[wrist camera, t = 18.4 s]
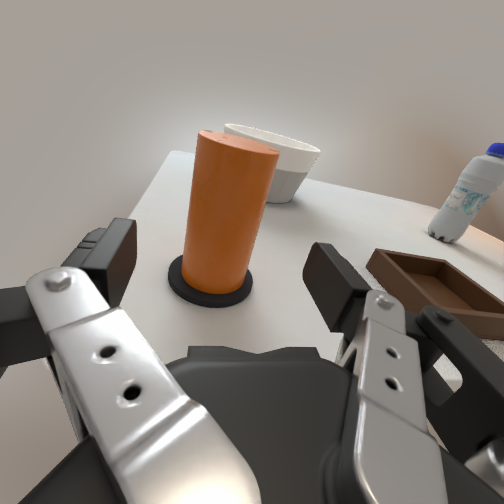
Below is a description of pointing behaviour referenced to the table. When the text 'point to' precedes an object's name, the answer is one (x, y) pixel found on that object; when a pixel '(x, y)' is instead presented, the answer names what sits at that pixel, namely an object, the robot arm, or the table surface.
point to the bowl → (281, 160)
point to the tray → (438, 290)
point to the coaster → (201, 297)
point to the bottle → (469, 194)
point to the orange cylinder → (225, 209)
